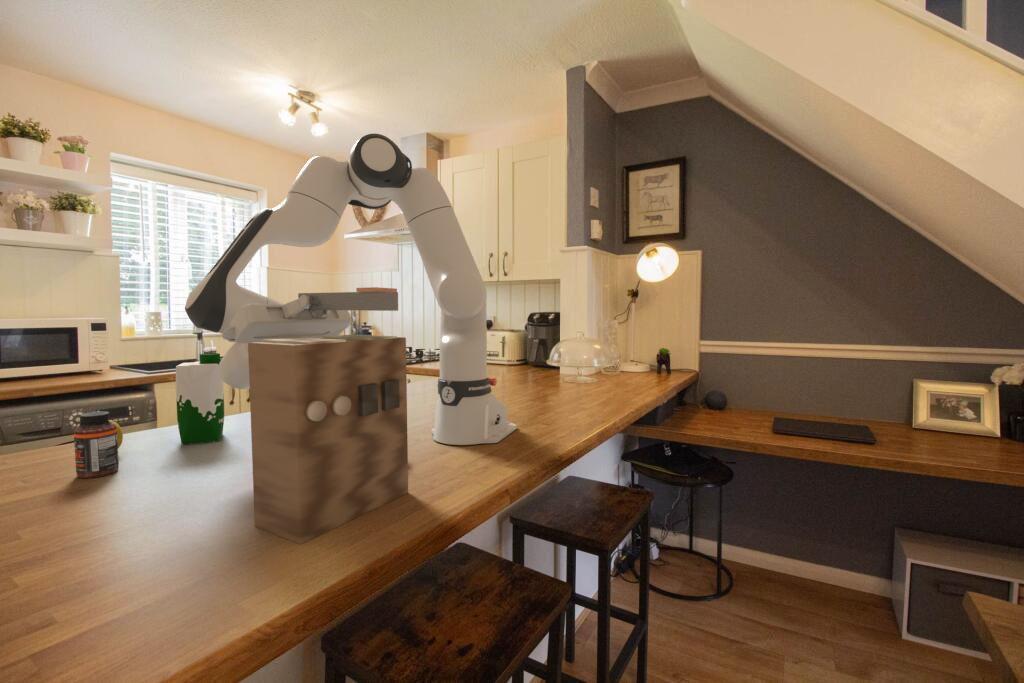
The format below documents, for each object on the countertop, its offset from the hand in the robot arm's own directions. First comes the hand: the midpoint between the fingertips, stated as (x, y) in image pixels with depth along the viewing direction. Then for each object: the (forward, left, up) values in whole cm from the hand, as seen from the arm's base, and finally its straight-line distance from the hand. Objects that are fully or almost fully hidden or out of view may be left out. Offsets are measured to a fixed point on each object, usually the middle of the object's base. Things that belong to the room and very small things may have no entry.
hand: (320, 299), depth 78 cm
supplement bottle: (+17, -42, -32) cm, 55 cm away
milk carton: (-5, -50, -32) cm, 59 cm away
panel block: (+5, +9, -32) cm, 34 cm away
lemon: (+12, -53, -32) cm, 63 cm away
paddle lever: (0, +6, -2) cm, 7 cm away
